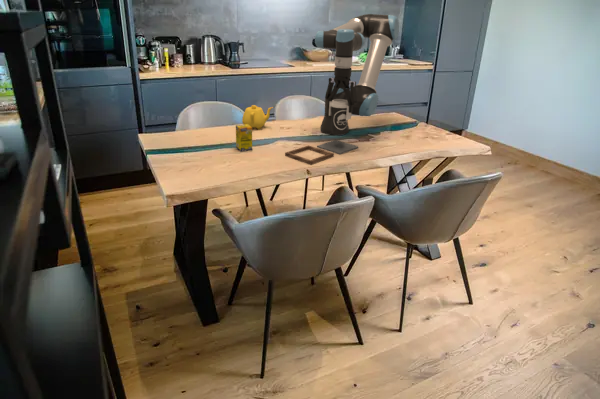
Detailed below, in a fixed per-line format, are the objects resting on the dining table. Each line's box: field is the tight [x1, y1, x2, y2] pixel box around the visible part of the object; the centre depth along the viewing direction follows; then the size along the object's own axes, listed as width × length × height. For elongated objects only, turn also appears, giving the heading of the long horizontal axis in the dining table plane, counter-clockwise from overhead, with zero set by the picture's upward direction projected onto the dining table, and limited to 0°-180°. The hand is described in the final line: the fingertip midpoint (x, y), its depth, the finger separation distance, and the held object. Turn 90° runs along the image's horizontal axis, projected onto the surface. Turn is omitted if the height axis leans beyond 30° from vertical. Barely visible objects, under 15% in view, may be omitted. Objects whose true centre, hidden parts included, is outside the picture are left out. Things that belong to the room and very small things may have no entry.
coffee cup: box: [330, 99, 349, 136], centre depth 201 cm, size 10×10×15 cm
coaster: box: [316, 139, 360, 155], centre depth 207 cm, size 14×14×1 cm
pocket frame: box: [284, 145, 335, 166], centre depth 195 cm, size 15×15×2 cm
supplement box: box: [235, 124, 253, 152], centre depth 199 cm, size 6×6×11 cm
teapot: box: [241, 104, 274, 130], centre depth 232 cm, size 14×14×12 cm
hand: (339, 117), depth 201 cm, fingers closed on coffee cup, 9 cm apart
